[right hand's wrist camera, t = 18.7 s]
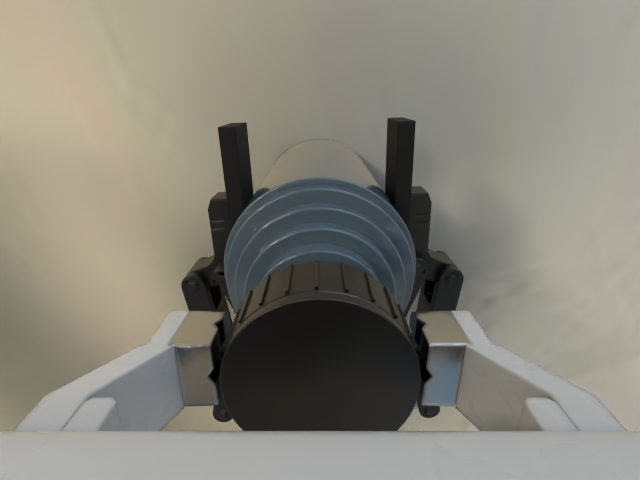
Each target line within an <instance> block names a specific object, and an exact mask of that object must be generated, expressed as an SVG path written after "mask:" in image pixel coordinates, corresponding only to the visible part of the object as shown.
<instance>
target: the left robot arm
mask: <svg viewBox="0 0 640 480" xmlns="http://www.w3.org/2000/svg"><path fill="white" fill-rule="evenodd" d="M218 132H219V140H220V148H221V156H222V164H223V173H224V181H225V189H226V192H218V193H217V194H216V195H215V196H214V197H213V198H212V199H211V200H210V204H209V208H208V212H209V219H210V226H211V233H212V240H213V247H214V256H211V257H209V258H208V257H203V258H200V259H199V260H198V261H197V262H196V263H195V264H194V266H193V267H192V269H191V270H190V271H189V273H188V274H187V275H186V277H185V278H184V279H183V281H182V284H181V286H182V290H183V293H184V297H185V300H186V303H187V306H188V309H189V310H190V311H227V312H228V314H229V318H230V328H229V331H228V333H227V334H228V335H229V333H230V330H231V327H232V325H233V322H232V319H231V315H230V312H229V308H228V305H227V301H226V298H225V296H226V297H227V299H228V301H229V302H230V304H231V306H232V308H233V309H234V307H233V305H232V302H231V300H230V297H229V294H228V289H227V285H226V280H225V275H224V256H225V249H226V245H227V241H228V238H229V235H230V233H231V230H232V228H233V227H234V225H235V223H236V221H237V220H238V218H239V217H240V215H241V214H242V212H243V211H244V209H245V208H246V206H247V205H248V203H249V202H250V200H251V199H252V197H253V185H252V175H251V165H250V154H249V144H248V134H247V124H246V123H231V124H227V125H224V126H221V127H218ZM414 137H415V121H413V120H410V119H406V118H388V123H387V153H386V184H385V195H386V196H387V197H388V199H389V200H390V202H391V203H392V205H393V206H394V208H395V209H396V211H397V212H398V214H399V215H400V217H401V218H402V220H403V221H404V223H405V224H406V226H407V229H408V231H409V233H410V235H411V238H412V241H413V244H414V249H415V255H416V273H415V280H414V284H413V290H412V293H411V297H410V300H409V302H408V305H407V307H406V309H405V311H404V313H403V314H404V316H405V317H406V315H407V313H408V311H409V309H410V307H411V305H412V303H413V301H414V299H415V297H416V295H417V293H418V291H419V289H420V287H421V285H422V287H421V292H420V296H419V301H418V306H417V310H416V312H424V311H455V310H456V306H457V302H458V299H459V295H460V291H461V287H462V283H463V275H462V273H461V272H460V270H459V269H458V268H457V267H456V265H455V264H454V263H453V262H452V260H451V259H450V258H449V256H448V255H447V254H446V253H445V252H442V251H432V250H429V249H428V240H429V227H430V213H431V200H430V197H429V194H428V193H427V192H426V191H425V190H424V189H423V188H422V187H421V186H417V187H412V171H413V154H414ZM234 311H235V309H234ZM235 313H236V311H235ZM236 314H237V313H236ZM412 334H413V333H411V335H412ZM415 408H418V409H419V412H420V414H421V415H422V416H423V417H426V418H432V417H434V416H436V415H437V414H438V413H439V411H440V407H439V406H427V405H422V404H421V401H420V398H419V395H418V398H417V401H416V404H415V406H414V408H413V409H415ZM213 416H214V418H215V419H216V420H218V421H220V422H227V421H230V420H231V419H232V416H231V415H230V413H229V411H228V410H227V408H226V405H225V403H224V400H223V397H222V395H221V398H220V401H219V404H218V405H214V409H213Z"/></svg>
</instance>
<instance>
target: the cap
mask: <svg viewBox="0 0 640 480" xmlns="http://www.w3.org/2000/svg"><path fill="white" fill-rule="evenodd" d="M412 338H413V337H412V335H411V332H410V329H409V327H408V324H407V322H406V319H405V316H404V314H403V311H402V309H401V306H400V304H397V303H396V302H395V300H394V298H393V297H392V295H391V294H390V292H389V290H388V287H387V286H386V285H385V286H383V285H382V284H381V283H380V282H378V281H377V280H376V279H375V278H373V277H372V276H370V275H369V272H367V271H366V272H363V271H361V270H359V269H357V268H355V267H351V266H348V265H345V263H344V262H342V263H334V262H322V261H319V260H315V261H314V262H305V263H301V264H296V265H293V264H290V265H289V267H287V268H284V269H281V270H279V271H277V272H275V273H273V274H272V275H269V274H268V275H267V276H266V279H264V280H263V281H262V282H261V283H260V284H258V285H257V286H256V287H255V288H254V290H253V291H252V290H250V291H249V293H248V295H247V298H246V300H245V302H244V304H243V306H242V308H241V309H238V312H237V314H236V317H235V319H234V322H233V325H232V327H231V330H230V333H229V335H228V338H227V340H226V343H225V344H228V345H227V348H226V351H225V354H224V356H223V360H222V363H221V368H220V389H221V393H222V397H223V400H224V403H225V405H226V408H227V410H228V411H229V413H230V415H231V416H232V418H233V419H234V421H235V422H236V423H237V424H238V425H239V427H240V428H241V429H242V430H243V431H397V430H398V429H399V428H400V427H401V426H402V425H403V424H404V422H405V421H406V420H407V418H408V417H409V415H410V414H411V412H412V410H413V408H414V406H415V404H416V401H417V398H418V395H419V390H420V384H421V372H420V366H419V358H418V355H417V352H416V350H415V347H414V345H413V342H412Z"/></svg>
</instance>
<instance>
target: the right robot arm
mask: <svg viewBox="0 0 640 480" xmlns="http://www.w3.org/2000/svg"><path fill="white" fill-rule="evenodd" d="M229 328H230V318H229V314H228V312H227V311H190V310H180V311H171V312H170V313H169V314H168V315H167V317H166V318H165V320H164V321H163V322H162V324H161V325H160V327H159V328H158V329H157V331H156V332H155V334H154V335H153V337H152V338H151V339H150V341H149V342H148V344H147V345H140V346H138V347H136V348H135V349H133V350H131V351H129V352H127V353H125V354H123V355H121V356H119V357H117V358H116V359H114V360H112V361H110V362H108V363H106V364H104V365H102V366H100V367H99V368H97V369H95V370H93V371H91V372H89V373H87V374H85V375H83V376H81V377H80V378H78V379H76V380H74V381H72V382H70V383H68V384H66V385H64V386H62V387H61V388H59V389H57V390H55V391H53V392H51V393H49V394H47V395H45V396H44V397H43V398H42V399H41V400H40V401H39V403H38V404H37V405H36V406H35V407H34V408H33V409H32V410H31V411H30V412H29V413H28V414H27V416H26V417H25V418H24V419H23V420H22V421H21V422H20V423H19V424H18V425H17V426H16V427H15V429H14V430H13V431H0V480H640V431H627V430H626V429H625V427H624V426H623V425H622V424H621V423H620V422H619V421H618V420H617V419H616V418H615V417H614V415H613V414H612V413H611V412H610V411H609V410H608V409H607V408H606V407H605V406H604V405H603V403H602V402H601V401H600V400H599V399H598V398H597V397H596V396H594V395H592V394H591V393H589V392H587V391H585V390H583V389H581V388H579V387H577V386H575V385H573V384H572V383H570V382H568V381H566V380H564V379H562V378H560V377H558V376H556V375H555V374H553V373H551V372H549V371H547V370H545V369H543V368H541V367H539V366H538V365H536V364H534V363H532V362H530V361H528V360H526V359H524V358H522V357H520V356H519V355H517V354H515V353H513V352H511V351H509V350H507V349H505V348H503V347H502V346H500V345H493V344H492V342H491V341H490V340H489V338H488V337H487V335H486V334H485V332H484V331H483V330H482V328H481V327H480V325H479V324H478V323H477V321H476V320H475V318H474V317H473V316H472V314H471V313H470V312H469V311H467V310H459V311H424V312H412V313H411V317H410V328H411V331H412V333H413V334H412V337H413V338H412V342H413V345H414V347H415V350H416V352H417V355H418V358H419V366H420V372H421V384H420V390H419V398H420V401H421V404H422V405H427V406H456V409H457V410H459V411H460V412H461V413H462V414H463V415H464V416H465V417H466V418H467V419H468V420H469V421H470V422H471V423H473V424H474V425H475V426H476V427H477V428H478V429H479V430H480V431H160V430H161V429H162V428H163V427H164V426H165V425H166V424H168V423H169V422H170V421H171V420H172V419H173V418H174V417H175V416H176V415H177V414H178V413H179V412H181V411H182V410H183V409H184V406H212V405H218V404H219V401H220V398H221V395H222V393H221V389H220V368H221V363H222V360H223V356H224V354H225V351H226V348H227V345H228V344H225V343H226V340H227V338H228V334H227V333H228V331H229Z"/></svg>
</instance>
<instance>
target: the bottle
mask: <svg viewBox="0 0 640 480" xmlns="http://www.w3.org/2000/svg"><path fill="white" fill-rule="evenodd" d="M315 260H319V261H322V262H334V263H342V262H344V263H345V265H348V266H351V267H355V268H357V269H359V270H361V271H363V272H366V271H367V272H369V275H370V276H372V277H373V278H375V279H376V280H377V281H378V282H380V283H381V284H382V285H383V286H385V285H386V286H387V287H388V290H389V292H390V294H391V295H392V297H393V298H394V300H395V302H396V303H397V304H400V306H401V309H402V311H403V313H404V311H405V309H406V307H407V305H408V302H409V300H410V297H411V293H412V290H413V284H414V280H415V273H416V255H415V249H414V244H413V241H412V238H411V235H410V233H409V231H408V229H407V226H406V224H405V223H404V221H403V220H402V218H401V217H400V215H399V214H398V212H397V211H396V209H395V208H394V206H393V205H392V203H391V202H390V200H389V199H388V197H387V196H386V195H385V193H384V192H383V190H382V189H381V187H380V186H379V184H378V183H377V181H376V180H375V178H374V177H373V175H372V174H371V172H370V171H369V169H368V168H367V166H366V165H365V163H364V162H363V160H362V159H361V158H360V157H359V156H358V154H356V153H355V152H354V151H353V150H352V149H350V148H349V147H347V146H345V145H343V144H341V143H339V142H335V141H332V140H326V139H314V140H308V141H304V142H301V143H299V144H296V145H295V146H293V147H291V148H290V149H288V150H287V151H286V152H284V153H283V154H282V155H281V156H280V157H279V159H278V160H277V161H276V163H275V164H274V166H273V167H272V169H271V170H270V172H269V173H268V175H267V176H266V178H265V179H264V181H263V182H262V184H261V185H260V187H259V188H258V190H257V191H256V193H255V194H254V196H253V197H252V199H251V200H250V202H249V203H248V205H247V206H246V208H245V209H244V211H243V212H242V214H241V215H240V217H239V218H238V220H237V221H236V223H235V225H234V227H233V228H232V230H231V233H230V235H229V238H228V241H227V245H226V249H225V256H224V275H225V280H226V285H227V289H228V294H229V297H230V300H231V302H232V305H233V307H234V309H235V311H236V313H237V312H238V309H241V308H242V306H243V304H244V302H245V300H246V298H247V295H248V293H249V291H250V290H252V291H253V290H254V288H255V287H256V286H257V285H258V284H260V283H261V282H262V281H263V280H264V279H266V276H267V275H268V274H269V275H272V274H273V273H275V272H277V271H279V270H281V269H284V268H287V267H289V265H290V264H293V265H296V264H301V263H305V262H314V261H315Z"/></svg>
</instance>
